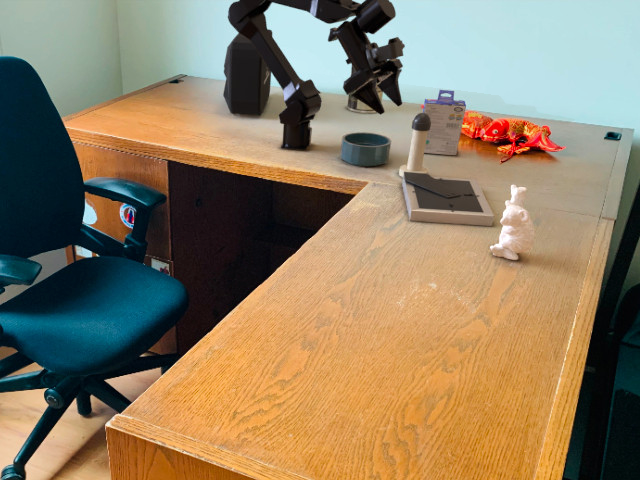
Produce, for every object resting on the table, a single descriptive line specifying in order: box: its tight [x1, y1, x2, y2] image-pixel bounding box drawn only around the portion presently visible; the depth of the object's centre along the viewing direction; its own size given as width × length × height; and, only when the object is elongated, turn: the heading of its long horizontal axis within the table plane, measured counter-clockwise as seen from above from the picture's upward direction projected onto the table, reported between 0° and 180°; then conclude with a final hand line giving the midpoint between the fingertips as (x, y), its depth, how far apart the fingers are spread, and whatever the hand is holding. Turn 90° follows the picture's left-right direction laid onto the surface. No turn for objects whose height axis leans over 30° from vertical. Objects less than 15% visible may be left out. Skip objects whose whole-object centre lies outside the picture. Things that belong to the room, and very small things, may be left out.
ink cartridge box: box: [422, 89, 467, 156], centre depth 164 cm, size 10×6×14 cm, turn 79°
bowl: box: [339, 131, 392, 167], centre depth 160 cm, size 12×12×5 cm
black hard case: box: [222, 28, 273, 116], centre depth 197 cm, size 30×12×20 cm, turn 172°
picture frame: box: [401, 172, 495, 227], centre depth 138 cm, size 16×3×21 cm
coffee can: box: [346, 65, 384, 114], centre depth 198 cm, size 10×10×14 cm
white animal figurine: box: [489, 184, 536, 261], centre depth 115 cm, size 8×7×12 cm
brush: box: [398, 112, 431, 178], centre depth 149 cm, size 6×6×14 cm
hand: (391, 109), depth 150 cm, fingers open, 9 cm apart
